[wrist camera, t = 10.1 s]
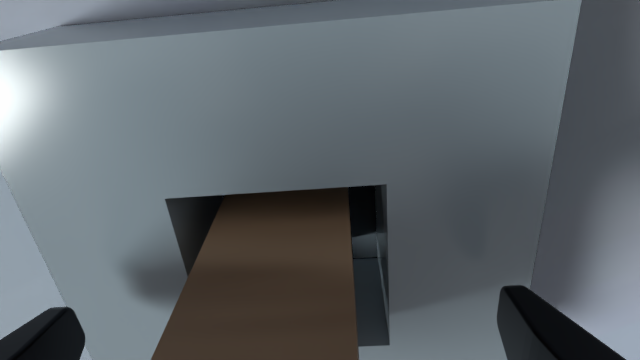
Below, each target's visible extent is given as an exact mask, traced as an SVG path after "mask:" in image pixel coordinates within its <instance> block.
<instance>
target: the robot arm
mask: <svg viewBox="0 0 640 360" xmlns="http://www.w3.org/2000/svg"><path fill="white" fill-rule="evenodd" d="M497 326H498V330H499V333H500V337H501V340H502V343H503V347H504V350H505V353H506V357H507V360H626V359H625V358H623V357H622V356H620V355H619V354H618V353H616V352H615V351H614V350H612V349H611V348H609V347H608V346H607V345H605V344H604V343H603V342H601V341H600V340H598V339H597V338H596V337H594V336H593V335H592V334H590V333H589V332H587V331H586V330H585V329H583V328H582V327H581V326H579V325H578V324H576V323H575V322H574V321H572V320H571V319H570V318H568V317H567V316H565V315H564V314H563V313H561V312H560V311H558V310H557V309H556V308H554V307H553V306H552V305H550V304H549V303H547V302H546V301H545V300H543V299H542V298H541V297H539V296H538V295H536V294H535V293H534V292H532V291H531V290H530V289H528V288H527V287H525V286H523V285H509V286H503V287H502V288H501V290H500V295H499V302H498V310H497ZM84 345H85V333H84V330H83V328H82V326H81V324H80V322H79V320H78V318H77V316H76V313H75V312H74V310H73V309H72V308H70V307H54V308H50V309H48V310H46V311H44V312H43V313H41V314H40V315H38V316H37V317H35V318H34V319H32V320H30V321H29V322H27V323H26V324H24V325H23V326H21V327H20V328H18V329H17V330H15V331H13V332H12V333H10V334H9V335H7V336H6V337H4V338H3V339H1V340H0V360H79V359H80V357H81V354H82V351H83V349H84Z"/></svg>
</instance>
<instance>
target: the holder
mask: <svg viewBox="0 0 640 360" xmlns="http://www.w3.org/2000/svg"><path fill="white" fill-rule="evenodd" d="M581 1H582V0H334V1H324V2H313V3H302V4H292V5H281V6H270V7H260V8H249V9H238V10H228V11H217V12H206V13H196V14H185V15H174V16H164V17H153V18H142V19H132V20H121V21H110V22H100V23H89V24H78V25H68V26H57V27H53V28H49V29H45V30H41V31H38V32H34V33H30V34H26V35H22V36H18V37H14V38H11V39H7V40H3V41H0V170H1V173H2V175H3V177H4V179H5V181H6V183H7V185H8V187H9V189H10V191H11V193H12V195H13V197H14V199H15V201H16V203H17V206H18V208H19V210H20V212H21V214H22V216H23V218H24V220H25V222H26V224H27V226H28V228H29V230H30V232H31V234H32V236H33V239H34V241H35V243H36V245H37V247H38V249H39V251H40V253H41V255H42V257H43V259H44V261H45V263H46V265H47V267H48V270H49V272H50V274H51V276H52V278H53V280H54V282H55V284H56V286H57V288H58V290H59V292H60V294H61V296H62V298H63V300H64V303H65V305H66V307H70V308H72V309H73V310H74V312H75V313H76V316H77V318H78V320H79V322H80V324H81V326H82V328H83V330H84V333H85V346H86V348H87V350H88V352H89V354H90V356H91V358H92V360H151V358H152V356H153V354H154V351H155V349H156V347H157V345H158V343H159V340H160V338H161V336H162V334H163V332H164V329H165V327H166V325H167V323H168V320H169V318H170V316H171V314H172V312H173V309H174V307H175V305H176V303H177V301H178V298H179V296H180V294H181V292H182V289H183V287H184V285H185V283H186V281H187V278H188V276H189V274H190V272H191V270H192V267H193V265H194V263H195V261H196V258H197V256H198V254H199V252H200V250H201V247H202V245H203V243H204V241H205V238H206V236H207V234H208V232H209V230H210V227H211V225H212V223H213V221H214V219H215V216H216V214H217V212H218V210H219V207H220V205H221V203H222V201H223V200H222V196H221V195H230V194H245V193H261V192H276V191H292V190H307V189H322V188H338V187H353V186H369V185H375V207H376V236H377V258H368V259H353V268H354V284H355V300H356V316H357V332H358V348H359V360H507V357H506V353H505V350H504V347H503V343H502V340H501V337H500V333H499V330H498V326H497V310H498V302H499V295H500V290H501V288H502V287H503V286H509V285H523V286H525V287H527V288H528V289H530V286H531V281H532V275H533V270H534V264H535V258H536V253H537V247H538V242H539V236H540V230H541V225H542V219H543V214H544V208H545V202H546V197H547V191H548V186H549V180H550V175H551V169H552V163H553V158H554V152H555V147H556V141H557V135H558V130H559V124H560V119H561V113H562V108H563V102H564V96H565V91H566V85H567V80H568V74H569V68H570V63H571V57H572V52H573V46H574V40H575V35H576V29H577V24H578V18H579V13H580V7H581Z"/></svg>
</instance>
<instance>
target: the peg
mask: <svg viewBox="0 0 640 360" xmlns="http://www.w3.org/2000/svg"><path fill="white" fill-rule="evenodd" d="M151 360H359V348H358V332H357V316H356V300H355V284H354V268H353V252H352V237H351V222H350V208H349V194H348V187H338V188H322V189H307V190H292V191H276V192H261V193H245V194H230V195H225V196H224V199H223V201H222V203H221V205H220V207H219V210H218V212H217V214H216V216H215V219H214V221H213V223H212V225H211V227H210V230H209V232H208V234H207V236H206V238H205V241H204V243H203V245H202V247H201V250H200V252H199V254H198V256H197V258H196V261H195V263H194V265H193V267H192V270H191V272H190V274H189V276H188V278H187V281H186V283H185V285H184V287H183V289H182V292H181V294H180V296H179V298H178V301H177V303H176V305H175V307H174V309H173V312H172V314H171V316H170V318H169V320H168V323H167V325H166V327H165V329H164V332H163V334H162V336H161V338H160V340H159V343H158V345H157V347H156V349H155V351H154V354H153V356H152V358H151Z"/></svg>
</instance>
